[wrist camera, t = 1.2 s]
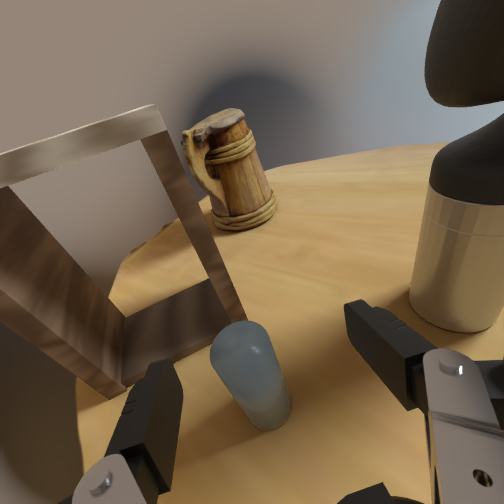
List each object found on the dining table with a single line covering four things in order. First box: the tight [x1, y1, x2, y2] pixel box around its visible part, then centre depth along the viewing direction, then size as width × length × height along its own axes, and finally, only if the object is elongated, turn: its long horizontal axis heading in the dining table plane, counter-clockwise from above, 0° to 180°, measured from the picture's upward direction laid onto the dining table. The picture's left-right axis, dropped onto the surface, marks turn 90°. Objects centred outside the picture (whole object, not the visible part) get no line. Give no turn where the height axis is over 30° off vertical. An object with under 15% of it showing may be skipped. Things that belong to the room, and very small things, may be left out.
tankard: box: [181, 108, 277, 231], centre depth 59 cm, size 18×24×25 cm
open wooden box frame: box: [0, 104, 248, 400], centre depth 33 cm, size 22×14×30 cm, turn 113°
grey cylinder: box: [210, 321, 292, 431], centre depth 25 cm, size 6×6×12 cm
